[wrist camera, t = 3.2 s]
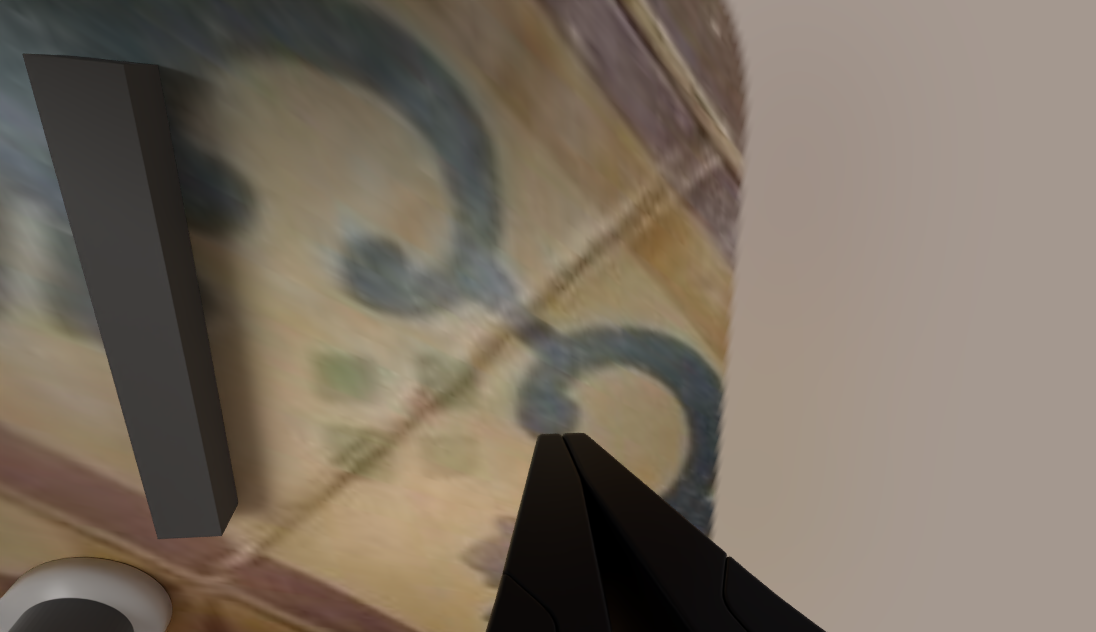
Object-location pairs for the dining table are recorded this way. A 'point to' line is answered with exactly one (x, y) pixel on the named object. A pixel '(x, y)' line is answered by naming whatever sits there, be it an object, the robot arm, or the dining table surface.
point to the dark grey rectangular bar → (140, 279)
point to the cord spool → (85, 599)
